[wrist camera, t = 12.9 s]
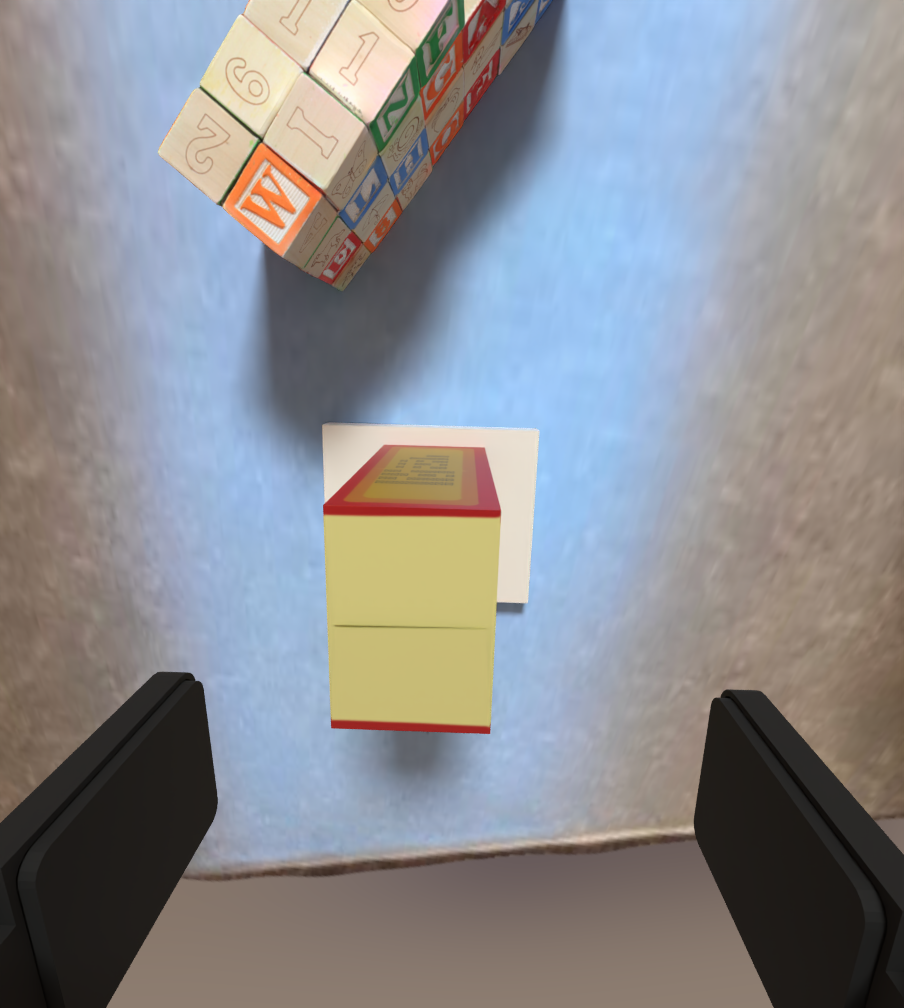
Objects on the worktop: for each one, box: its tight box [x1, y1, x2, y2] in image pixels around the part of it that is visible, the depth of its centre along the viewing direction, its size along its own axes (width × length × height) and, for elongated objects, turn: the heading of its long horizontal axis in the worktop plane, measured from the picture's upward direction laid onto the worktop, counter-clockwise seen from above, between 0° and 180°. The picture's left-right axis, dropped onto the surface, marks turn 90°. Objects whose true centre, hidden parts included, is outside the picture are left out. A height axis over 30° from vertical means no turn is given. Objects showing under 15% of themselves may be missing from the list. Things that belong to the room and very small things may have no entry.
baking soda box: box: [323, 445, 501, 734], centre depth 28 cm, size 10×6×16 cm
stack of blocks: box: [158, 0, 553, 291], centre depth 25 cm, size 21×6×12 cm, turn 141°
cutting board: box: [322, 422, 539, 603], centre depth 37 cm, size 14×12×2 cm
